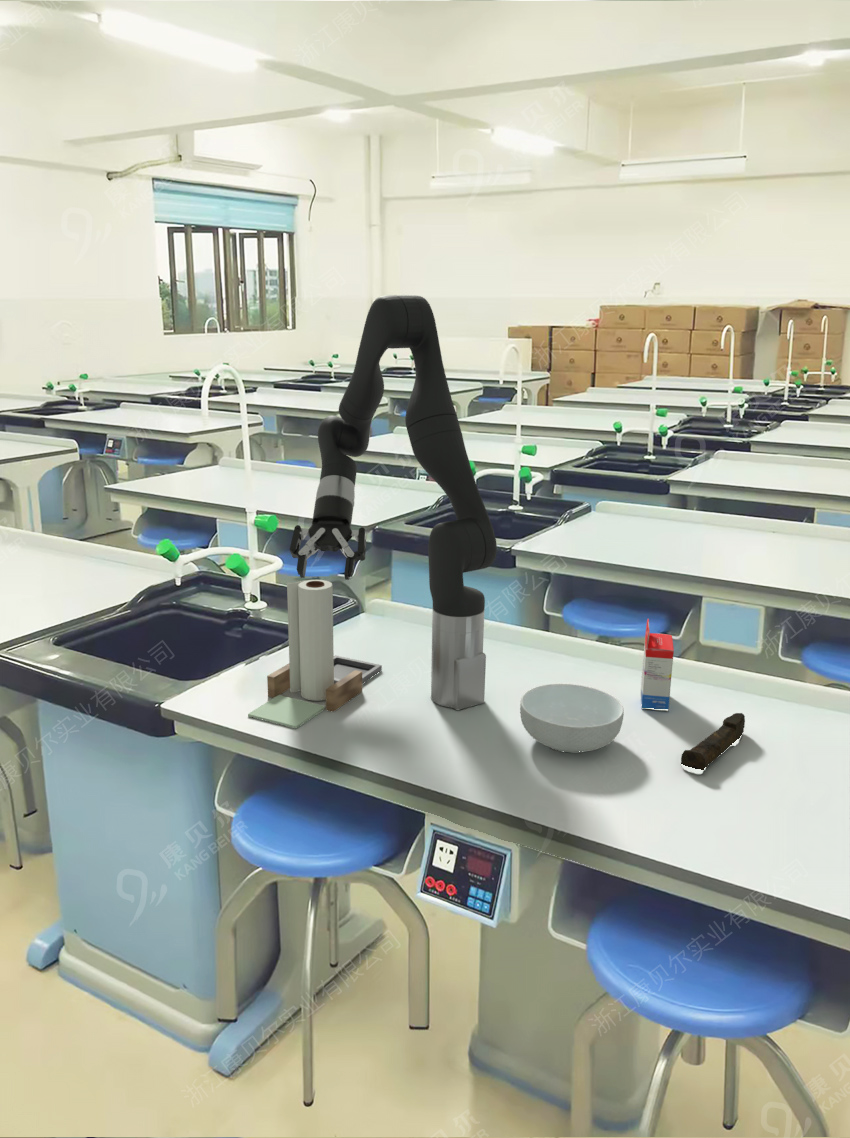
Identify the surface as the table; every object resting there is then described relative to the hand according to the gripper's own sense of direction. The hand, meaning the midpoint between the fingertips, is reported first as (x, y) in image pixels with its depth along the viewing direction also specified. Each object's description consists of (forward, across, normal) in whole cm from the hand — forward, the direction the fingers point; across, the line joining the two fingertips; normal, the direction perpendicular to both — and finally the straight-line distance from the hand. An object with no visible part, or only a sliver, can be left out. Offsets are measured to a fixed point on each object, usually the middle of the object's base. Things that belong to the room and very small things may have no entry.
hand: (324, 576), depth 173 cm
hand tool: (+32, +69, -3) cm, 76 cm away
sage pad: (+27, -3, +1) cm, 27 cm away
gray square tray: (+14, +4, +13) cm, 20 cm away
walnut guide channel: (+21, 0, +7) cm, 22 cm away
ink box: (+18, +62, +10) cm, 65 cm away
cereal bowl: (+31, +45, -3) cm, 55 cm away
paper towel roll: (+21, 0, +7) cm, 22 cm away
